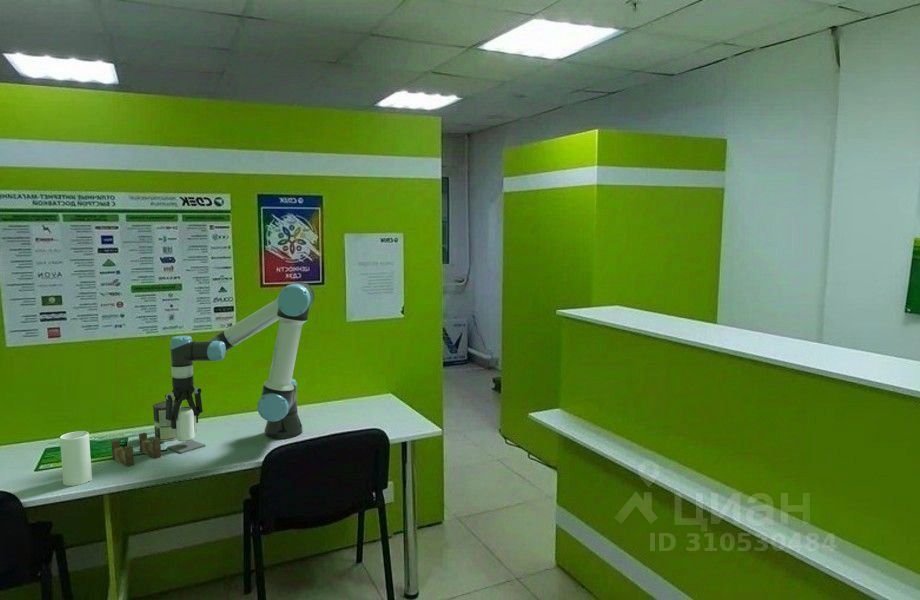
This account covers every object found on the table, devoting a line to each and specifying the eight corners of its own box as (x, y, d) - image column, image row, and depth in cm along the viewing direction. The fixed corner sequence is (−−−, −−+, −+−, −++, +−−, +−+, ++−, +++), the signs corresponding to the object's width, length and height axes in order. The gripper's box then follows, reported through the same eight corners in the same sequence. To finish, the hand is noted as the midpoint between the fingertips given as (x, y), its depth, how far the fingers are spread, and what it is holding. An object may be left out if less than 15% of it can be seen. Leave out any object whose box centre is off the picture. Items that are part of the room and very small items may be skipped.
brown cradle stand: (161, 456, 226) (160, 438, 225) (128, 466, 216) (126, 447, 215) (145, 450, 233) (144, 432, 232) (112, 459, 223) (111, 441, 222)
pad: (205, 446, 237) (205, 444, 236) (180, 453, 229) (180, 452, 228) (191, 441, 242) (191, 439, 242) (167, 448, 234) (167, 446, 234)
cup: (71, 476, 207) (68, 431, 206) (96, 475, 208) (93, 430, 206) (58, 486, 199) (54, 439, 198) (84, 485, 200) (80, 438, 198)
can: (185, 435, 239) (183, 405, 238) (198, 437, 237) (197, 407, 236) (172, 440, 233) (171, 410, 232) (186, 442, 231) (184, 411, 230)
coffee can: (149, 440, 243) (146, 406, 242) (166, 432, 253) (164, 399, 252) (171, 442, 241) (169, 408, 239) (188, 434, 251) (186, 401, 250)
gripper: (200, 370, 242) (203, 425, 245) (152, 379, 227) (155, 438, 229) (211, 372, 238) (213, 429, 240) (162, 382, 222) (166, 442, 225)
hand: (185, 433), depth 235 cm, fingers closed on can, 6 cm apart
